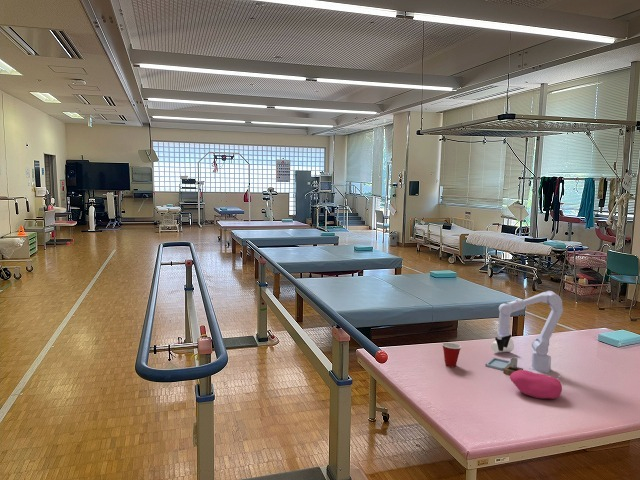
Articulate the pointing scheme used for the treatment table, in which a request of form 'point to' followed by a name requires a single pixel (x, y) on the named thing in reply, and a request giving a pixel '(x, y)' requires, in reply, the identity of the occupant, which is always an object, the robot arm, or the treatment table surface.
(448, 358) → the plastic cup
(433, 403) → the treatment table surface
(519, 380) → the cushion
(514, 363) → the dowel
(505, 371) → the socket block
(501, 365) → the tray
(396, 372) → the treatment table surface
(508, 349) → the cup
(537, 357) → the robot arm
